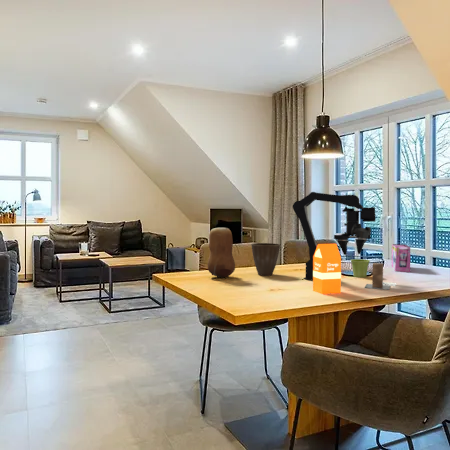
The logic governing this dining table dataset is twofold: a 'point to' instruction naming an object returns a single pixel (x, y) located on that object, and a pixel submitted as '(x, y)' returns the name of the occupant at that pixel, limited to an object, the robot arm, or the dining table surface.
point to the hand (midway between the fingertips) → (352, 254)
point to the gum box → (401, 257)
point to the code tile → (389, 284)
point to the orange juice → (327, 269)
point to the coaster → (385, 287)
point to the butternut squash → (221, 253)
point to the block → (377, 275)
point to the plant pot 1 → (265, 257)
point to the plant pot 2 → (360, 267)
